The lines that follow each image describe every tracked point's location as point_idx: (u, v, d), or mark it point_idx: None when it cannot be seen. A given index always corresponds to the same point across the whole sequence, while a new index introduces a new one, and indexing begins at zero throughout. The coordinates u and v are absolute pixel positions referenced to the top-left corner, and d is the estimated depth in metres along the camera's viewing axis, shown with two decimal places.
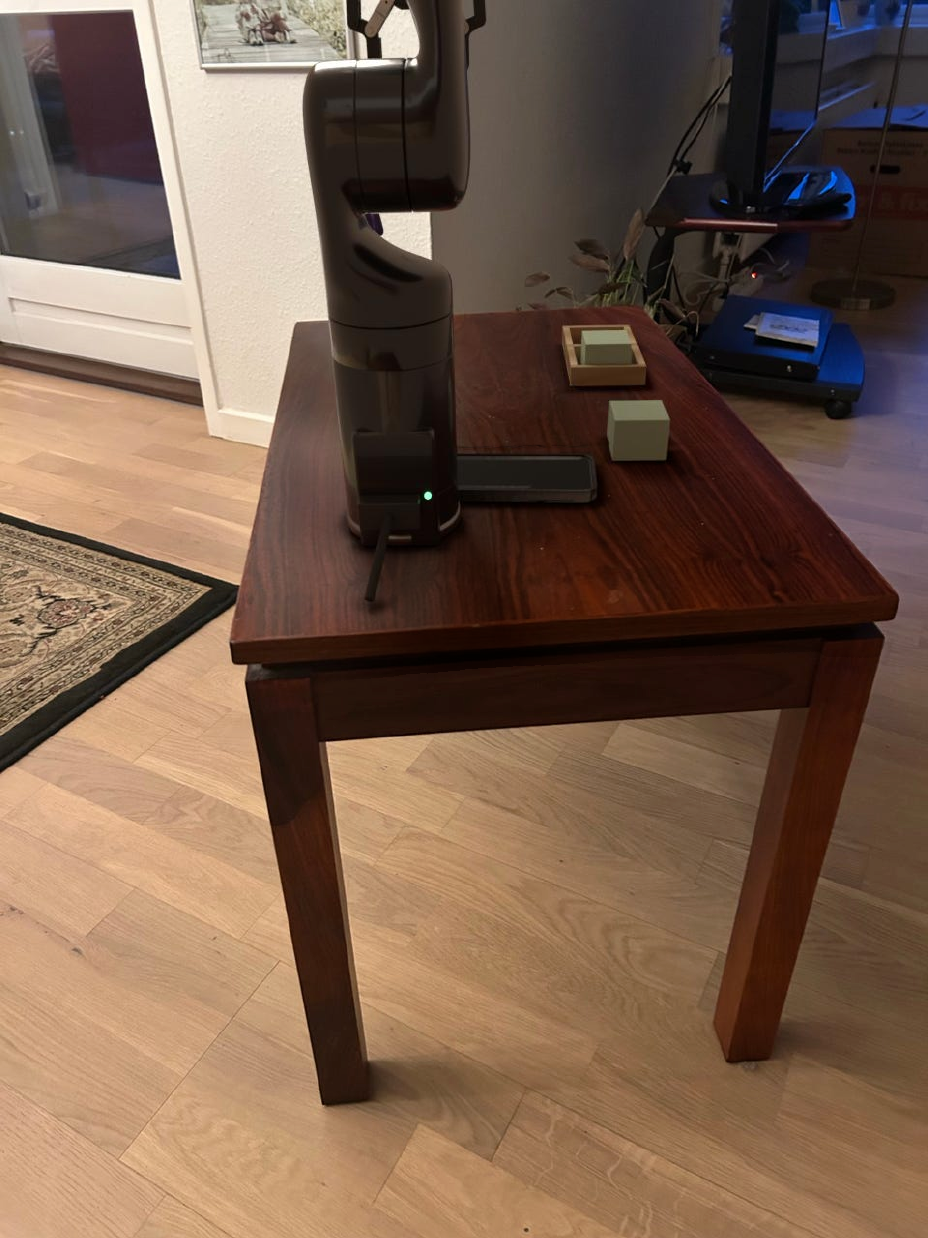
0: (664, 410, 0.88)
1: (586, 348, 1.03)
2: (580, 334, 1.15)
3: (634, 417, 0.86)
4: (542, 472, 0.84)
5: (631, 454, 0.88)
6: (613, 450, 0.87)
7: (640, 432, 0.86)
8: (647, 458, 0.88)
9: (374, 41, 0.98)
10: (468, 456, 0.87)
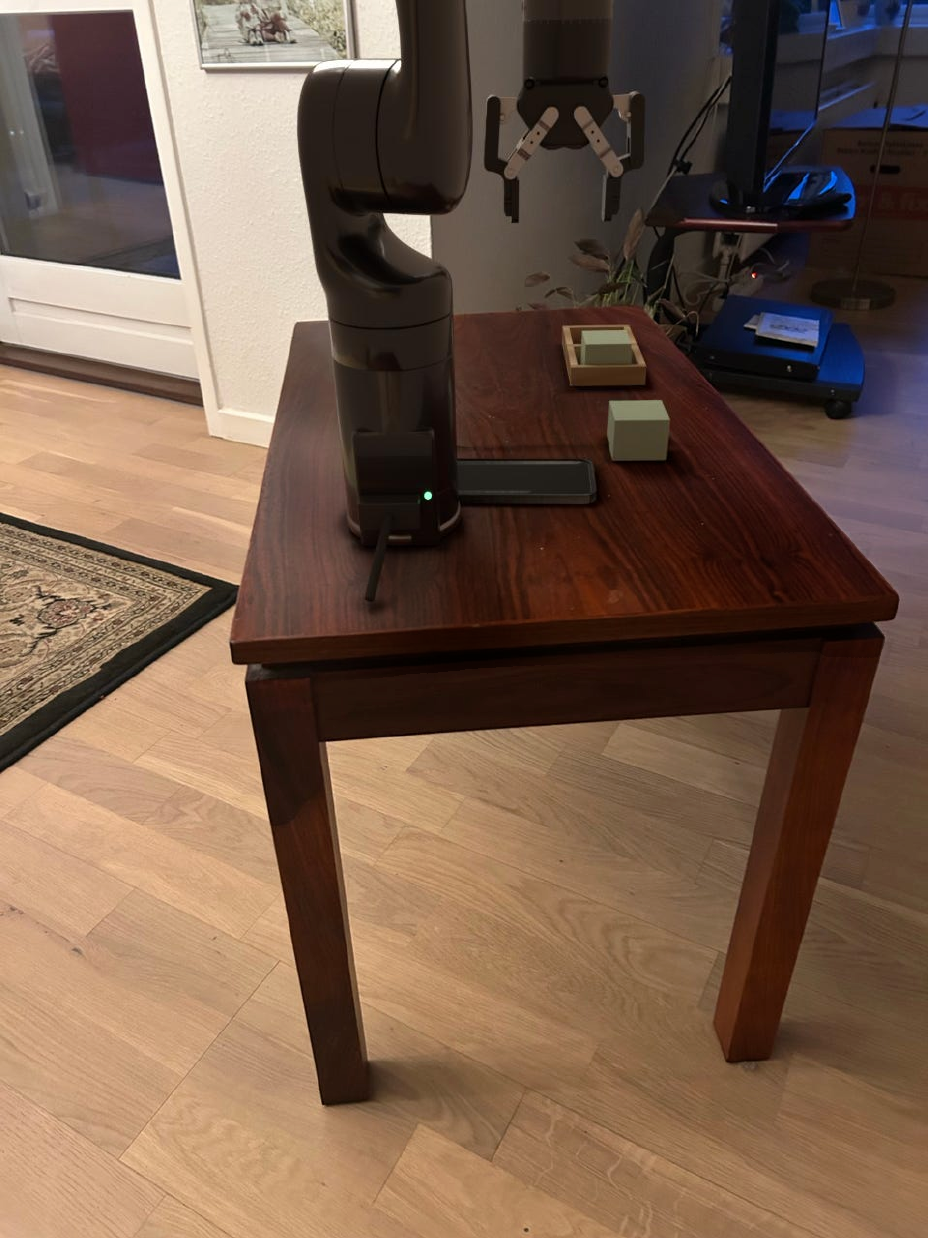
0: (664, 410, 0.88)
1: (586, 348, 1.03)
2: (580, 334, 1.15)
3: (634, 417, 0.86)
4: (541, 476, 0.84)
5: (631, 454, 0.88)
6: (613, 450, 0.87)
7: (640, 432, 0.86)
8: (647, 458, 0.88)
9: (514, 183, 0.85)
10: (467, 461, 0.87)
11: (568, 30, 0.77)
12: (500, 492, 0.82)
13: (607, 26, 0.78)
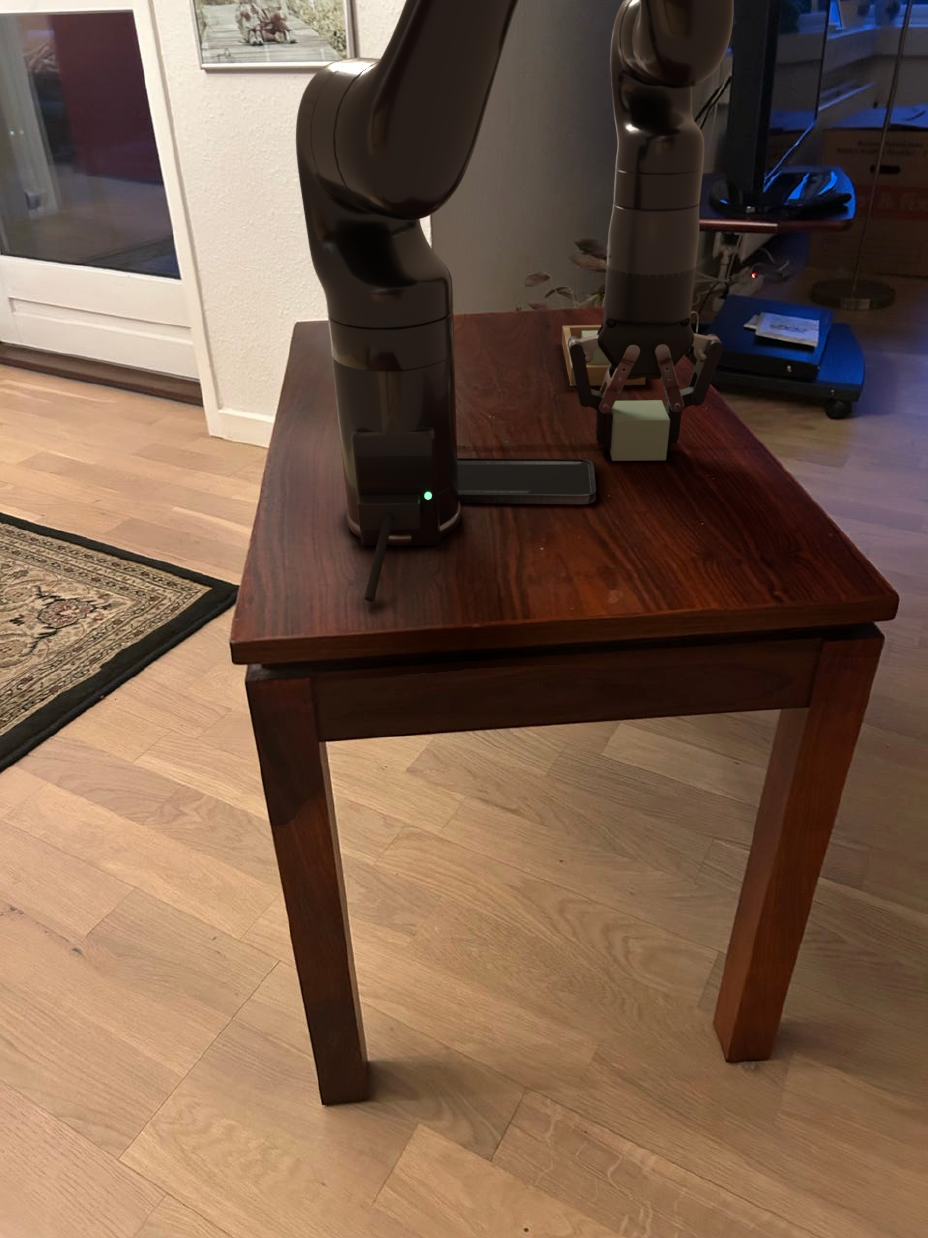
0: (664, 410, 0.88)
1: None
2: (580, 334, 1.15)
3: (634, 417, 0.86)
4: (541, 476, 0.84)
5: (631, 454, 0.88)
6: (613, 450, 0.87)
7: (640, 433, 0.86)
8: (647, 458, 0.88)
9: (608, 417, 0.87)
10: (468, 461, 0.87)
11: (654, 284, 0.78)
12: (500, 492, 0.82)
13: (691, 276, 0.79)
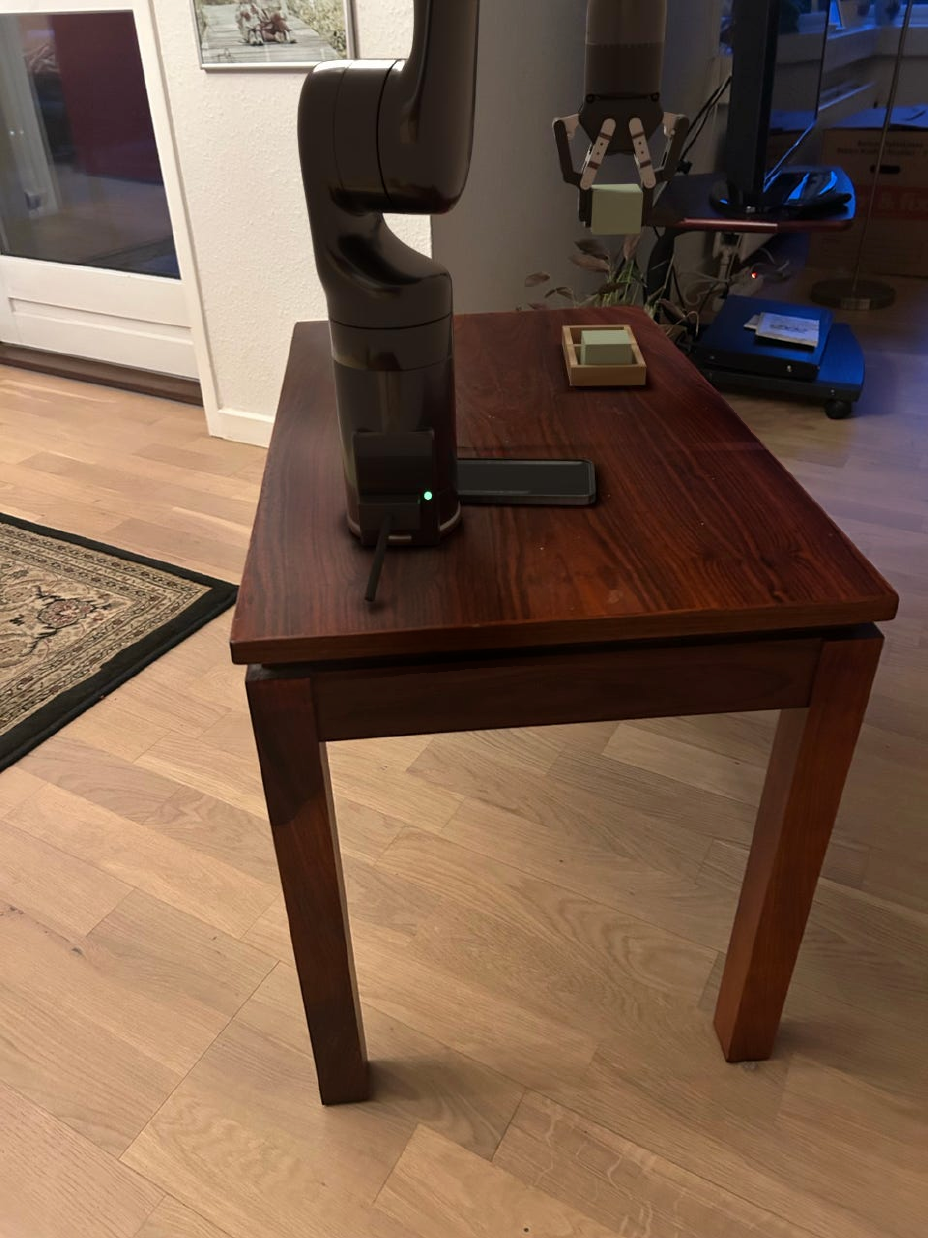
0: (638, 188, 0.98)
1: (586, 348, 1.03)
2: (580, 334, 1.15)
3: (611, 192, 0.97)
4: (541, 477, 0.84)
5: (609, 227, 0.98)
6: (593, 224, 0.98)
7: (616, 206, 0.97)
8: (623, 231, 0.98)
9: (588, 193, 0.98)
10: (468, 460, 0.87)
11: (626, 53, 0.88)
12: (499, 492, 0.82)
13: (660, 48, 0.89)
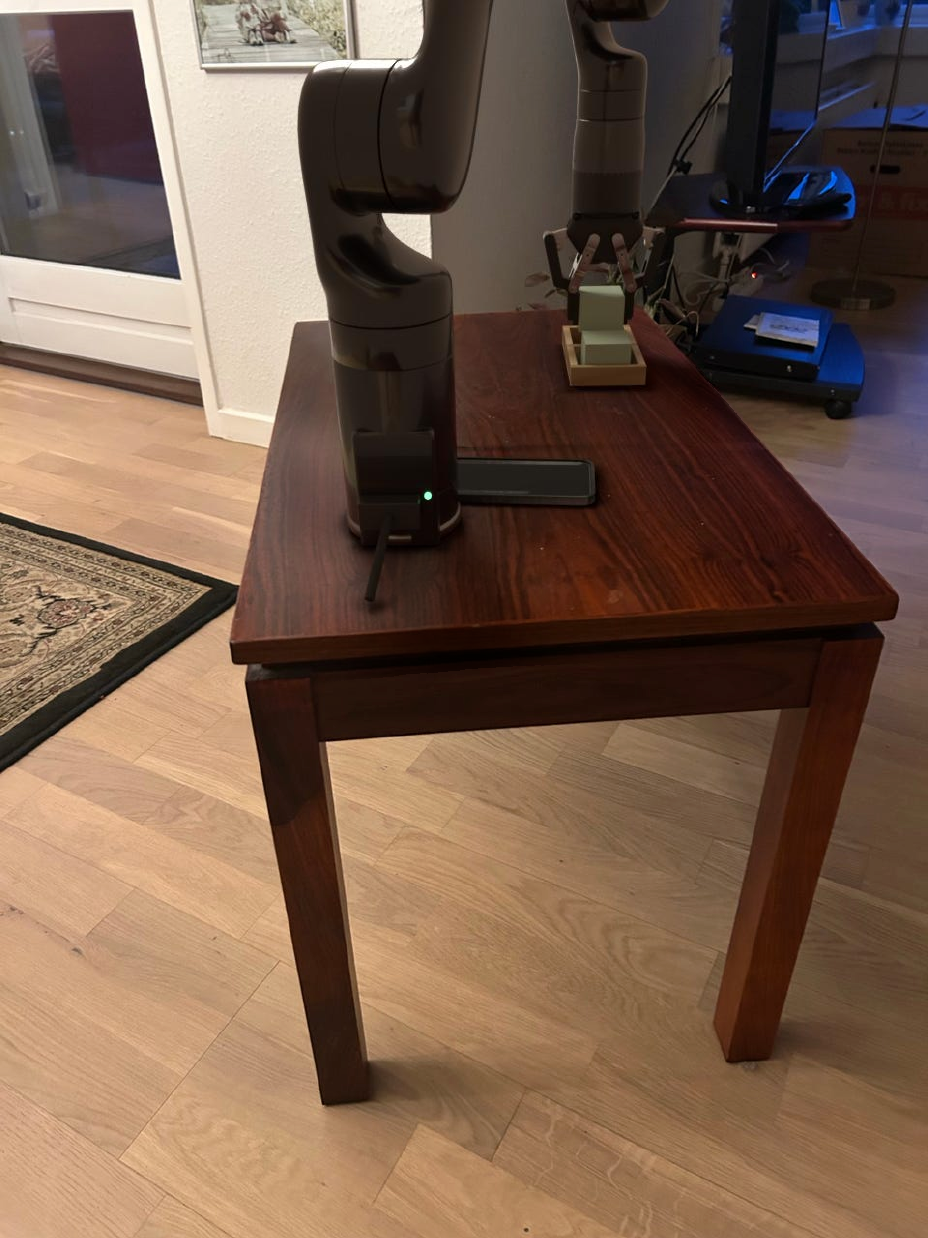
0: (621, 291, 1.09)
1: (586, 348, 1.03)
2: (580, 334, 1.15)
3: (596, 296, 1.07)
4: (541, 477, 0.84)
5: (594, 327, 1.09)
6: (580, 323, 1.09)
7: (601, 308, 1.08)
8: None
9: (576, 296, 1.08)
10: (469, 460, 0.87)
11: (609, 180, 0.99)
12: (499, 492, 0.82)
13: (639, 175, 1.00)
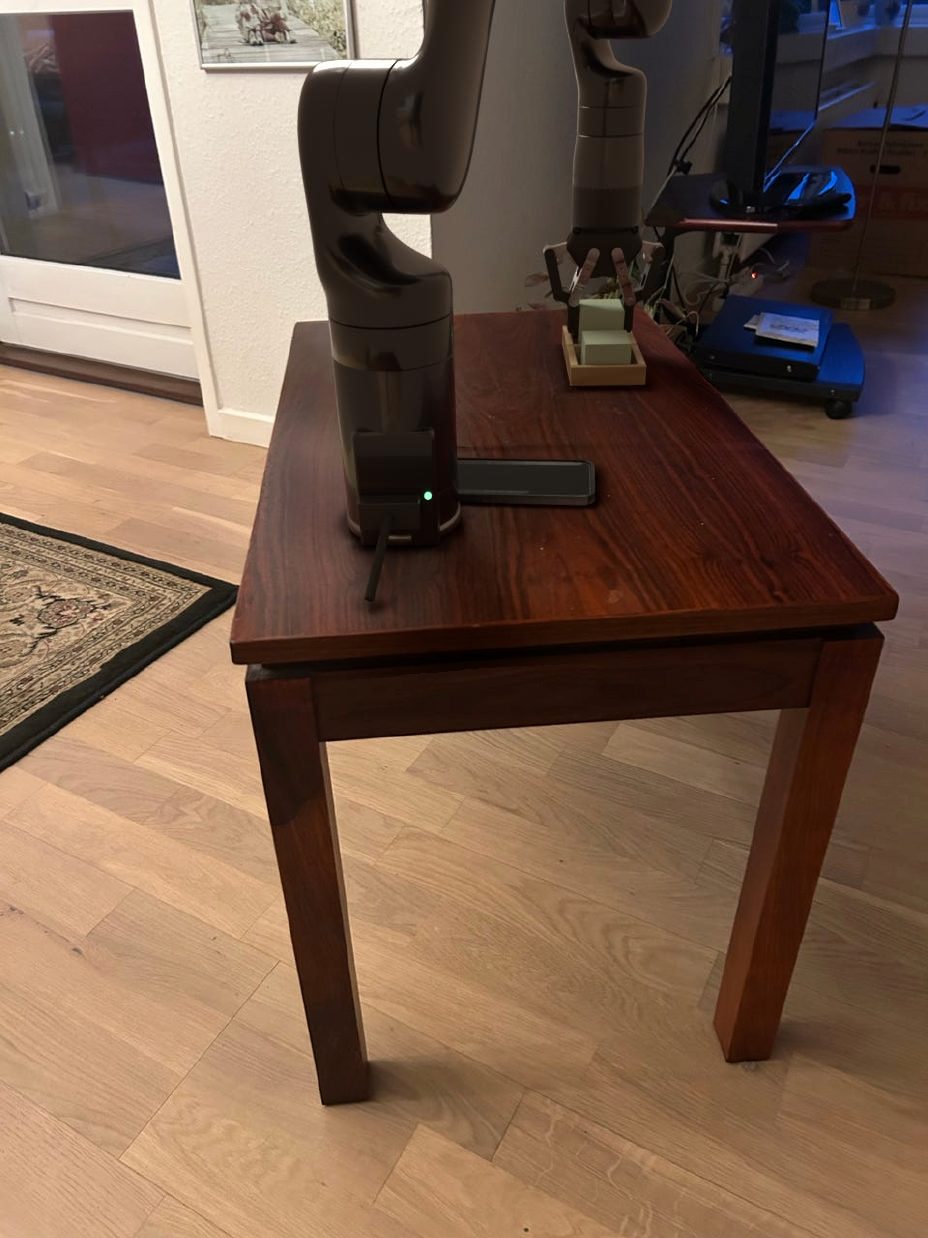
0: (620, 305, 1.09)
1: (586, 348, 1.03)
2: None
3: (596, 309, 1.08)
4: (541, 477, 0.84)
5: None
6: (580, 337, 1.09)
7: (601, 321, 1.08)
8: None
9: (576, 310, 1.09)
10: (469, 460, 0.87)
11: (608, 196, 1.00)
12: (498, 492, 0.82)
13: (638, 190, 1.01)
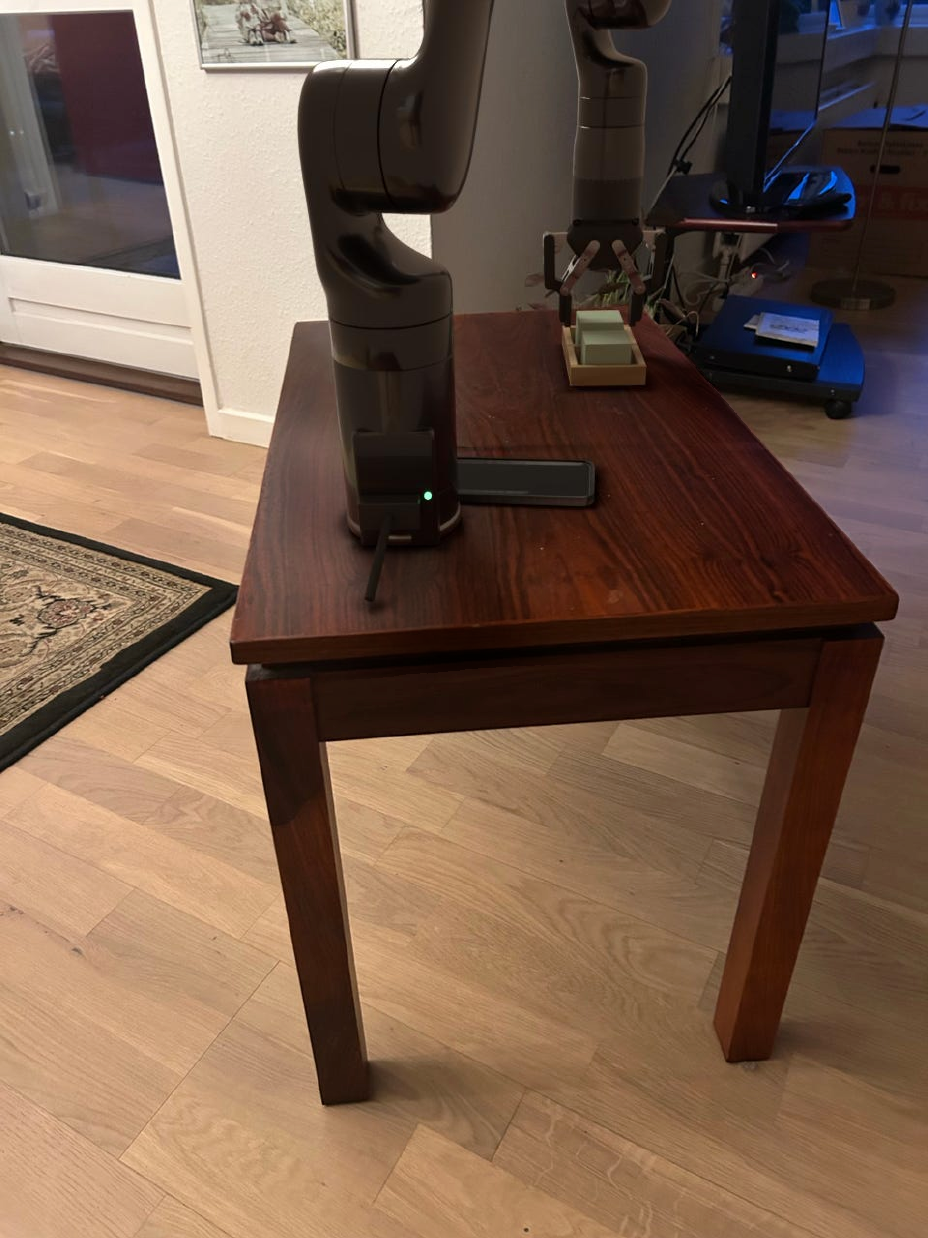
0: (619, 316, 1.10)
1: (586, 348, 1.03)
2: None
3: (595, 321, 1.09)
4: (541, 477, 0.84)
5: None
6: None
7: None
8: None
9: (567, 298, 1.08)
10: (470, 460, 0.88)
11: (609, 187, 0.99)
12: (498, 492, 0.82)
13: (639, 182, 1.00)
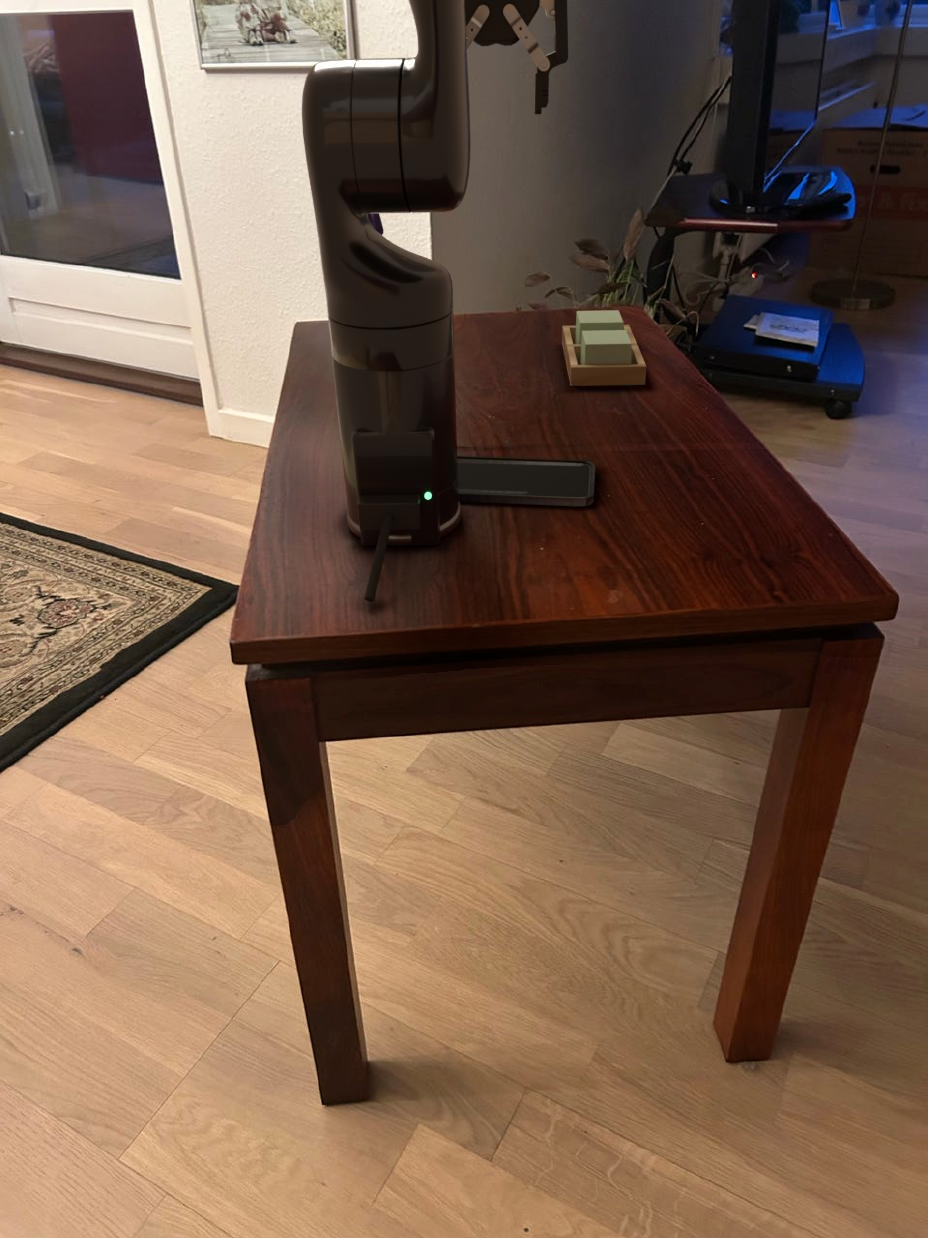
0: (619, 316, 1.10)
1: (586, 348, 1.03)
2: None
3: (595, 321, 1.09)
4: (541, 477, 0.84)
5: None
6: None
7: None
8: None
9: None
10: (470, 459, 0.88)
11: None
12: (497, 492, 0.82)
13: None
